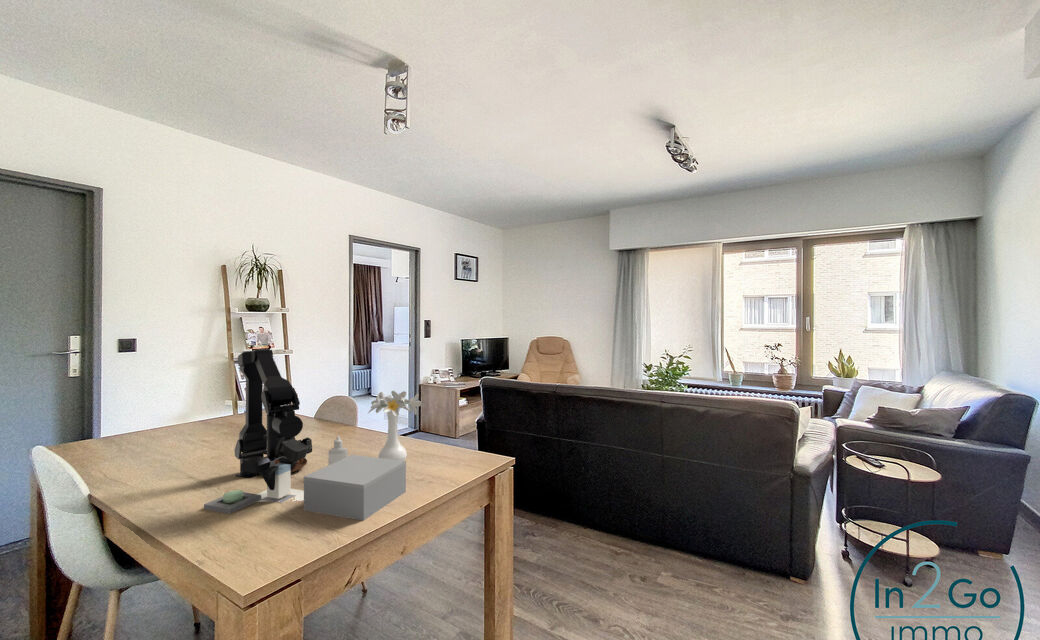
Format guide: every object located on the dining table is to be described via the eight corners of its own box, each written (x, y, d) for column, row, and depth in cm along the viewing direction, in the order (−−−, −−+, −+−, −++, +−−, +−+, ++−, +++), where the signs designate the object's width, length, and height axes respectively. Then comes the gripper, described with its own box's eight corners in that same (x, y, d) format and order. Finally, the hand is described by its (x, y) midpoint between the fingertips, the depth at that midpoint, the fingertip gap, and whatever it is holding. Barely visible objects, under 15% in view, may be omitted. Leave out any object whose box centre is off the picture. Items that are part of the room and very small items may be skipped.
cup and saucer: (312, 461, 146) (312, 444, 145) (299, 476, 134) (298, 457, 134) (275, 463, 144) (274, 446, 144) (258, 478, 132) (257, 459, 132)
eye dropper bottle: (338, 477, 133) (338, 439, 133) (326, 474, 136) (326, 436, 136) (349, 472, 137) (349, 435, 137) (338, 469, 140) (337, 433, 140)
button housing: (203, 510, 110) (203, 504, 110) (236, 496, 119) (236, 490, 119) (229, 515, 108) (229, 509, 108) (261, 500, 116) (261, 495, 116)
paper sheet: (236, 503, 114) (236, 502, 114) (274, 487, 126) (274, 485, 126) (283, 512, 109) (283, 510, 109) (318, 493, 121) (318, 492, 121)
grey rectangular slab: (303, 511, 110) (303, 476, 109) (352, 485, 127) (352, 454, 127) (363, 522, 104) (363, 485, 104) (405, 492, 121) (405, 461, 121)
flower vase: (426, 460, 150) (426, 389, 150) (384, 476, 134) (384, 397, 134) (401, 453, 157) (401, 385, 157) (358, 468, 141) (358, 393, 141)
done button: (219, 501, 112) (219, 495, 112) (234, 495, 116) (234, 489, 116) (231, 504, 110) (231, 497, 110) (247, 497, 115) (246, 491, 115)
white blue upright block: (267, 496, 116) (267, 467, 116) (279, 491, 120) (279, 462, 120) (278, 498, 115) (278, 469, 115) (290, 492, 119) (290, 464, 119)
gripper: (272, 442, 106) (272, 505, 106) (327, 424, 124) (327, 478, 124) (238, 438, 109) (238, 499, 109) (297, 421, 127) (297, 473, 127)
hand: (278, 486), depth 117 cm, fingers closed on white blue upright block, 4 cm apart
